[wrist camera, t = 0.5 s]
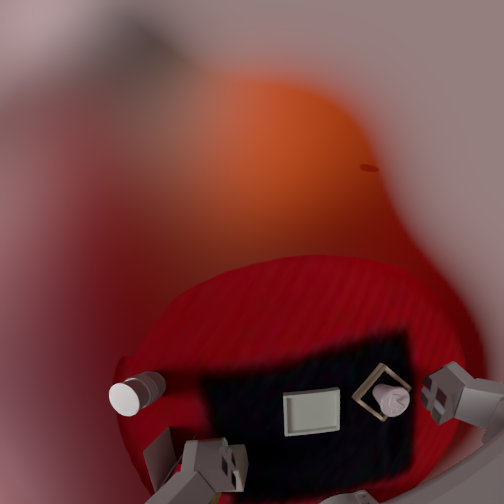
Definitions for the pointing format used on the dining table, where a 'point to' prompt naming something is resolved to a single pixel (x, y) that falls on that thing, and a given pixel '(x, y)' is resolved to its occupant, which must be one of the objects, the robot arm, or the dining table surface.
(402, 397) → the smoothie
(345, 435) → the dining table surface
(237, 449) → the skincare box
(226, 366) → the dining table surface
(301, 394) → the tray
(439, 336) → the dining table surface
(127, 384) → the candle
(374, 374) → the frame
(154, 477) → the greeting card
